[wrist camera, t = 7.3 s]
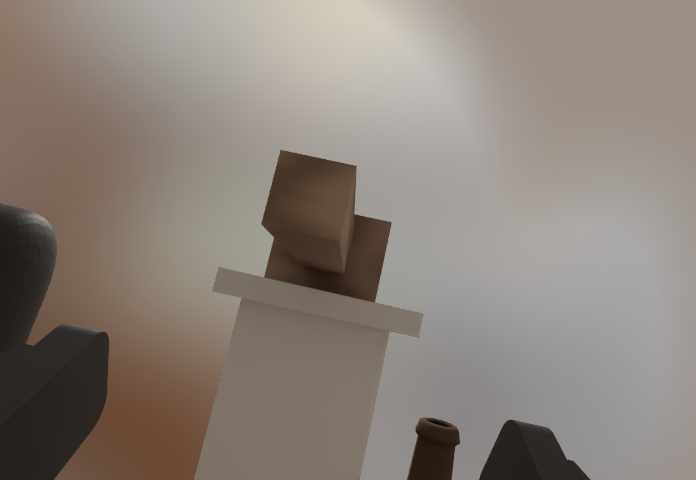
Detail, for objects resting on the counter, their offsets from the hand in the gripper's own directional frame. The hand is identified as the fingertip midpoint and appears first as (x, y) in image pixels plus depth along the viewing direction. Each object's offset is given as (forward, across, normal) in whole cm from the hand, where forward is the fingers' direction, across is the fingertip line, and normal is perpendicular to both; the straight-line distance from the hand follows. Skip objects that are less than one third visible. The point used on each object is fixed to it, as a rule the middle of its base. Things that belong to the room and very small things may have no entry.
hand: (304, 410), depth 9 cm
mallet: (+18, -1, -7) cm, 19 cm away
